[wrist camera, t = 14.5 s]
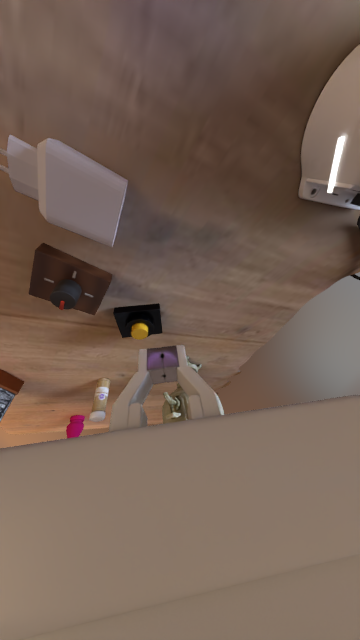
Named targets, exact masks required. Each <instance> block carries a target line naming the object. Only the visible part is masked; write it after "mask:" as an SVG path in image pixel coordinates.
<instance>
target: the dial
mask: <svg viewBox="0 0 360 640" xmlns="http://www.w3.org/2000/svg"><path fill="white" fill-rule="evenodd" d="M81 292H82V290H81V287H80V286H79V284H77V283H76V282H74V281H72V280H68V279H64V280H61V281H59V283H58V284H57V286H56V287H55V288H54V290H53V291H52V293H51V294H50V301H51V302H52V303H53V304H54V305H55V306H56V307H58V308H59V309H61V310H63V309H71V308H73V307H75V305H76V303H77V301H78V299H79V297H80V294H81Z"/></svg>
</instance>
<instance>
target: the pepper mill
mask: <svg viewBox="0 0 360 640" xmlns="http://www.w3.org/2000/svg"><path fill="white" fill-rule="evenodd" d="M84 418H85V417H84V416H82V415H76V416H72V417H71V418H70V422H71V423H70V424H69V425H68V426H67V429H66V432H67V438H73V437H79V435H80V433H81V432H82V430H83V427H84V424H83V421H84Z"/></svg>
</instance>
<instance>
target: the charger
mask: <svg viewBox="0 0 360 640" xmlns="http://www.w3.org/2000/svg"><path fill="white" fill-rule="evenodd" d="M0 153H1V154H3V155H5V156H7V159H8V168H6V167H4V166H2V165H0V170H2V171H5V172H7V173H9V176H10V180H11V182H12V185H13V188H14V189H15V191H17V192H19V193H22V194H24V195H26V196H29V197H31V198H33V199H36V200H38V201H39V211H40V212H41V214H42V215H43V216H44V218H45V219H46V220H47V222H49V223H51V224H54V225H56V226H59V227H61V228H64V229H67V230H69V231H72V232H74V233H77V234H79V235H82V236H84V237H87V238H89V239H92V240H94V241H97V242H100V243H102V244H105V245H107V246H110V247H112V246H113V243H114V240H115V237H116V233H117V229H118V225H119V221H120V216H121V212H122V208H123V204H124V199H125V195H126V190H127V186H128V180H126V179H125V178H123V177H121V176H120V175H118V174H116V173H114V172H113V171H111V170H109V169H107V168H106V167H104V166H102V165H100V164H99V163H97V162H95V161H94V160H92V159H90V158H88V157H87V156H85V155H83V154H81V153H80V152H78V151H76V150H74V149H73V148H71V147H69V146H68V145H66V144H64V143H62V142H61V141H59V140H55V139H51V138H48V139H46V140H44V141H42V142H40V143H38V146H37V149H36V148H34V147H33V146H31V145H29V144H27V143H25V142H23V141H21V140H19V139H18V138H16V137H14V136H12V135H10V136H9V138H8V146H7V151H5V150H3V149H1V148H0Z"/></svg>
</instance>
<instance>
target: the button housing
mask: <svg viewBox="0 0 360 640" xmlns="http://www.w3.org/2000/svg"><path fill="white" fill-rule="evenodd" d="M113 314H114V316H115V319H116V322H117V325H118V327H119V330H120V333H121V335H122V338H124V337H132V335H131V331H132V326H133V325H134V324H136V323H144V324H146V325H147V327H148V336H149V335H151V334H160V333H162V325H161V315H160V306H159V304H150V305H139V306H128V307H118V308H114V313H113ZM148 336H147V337H148Z"/></svg>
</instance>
